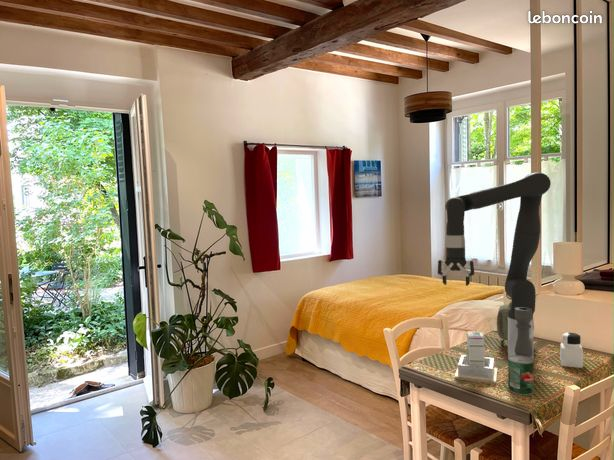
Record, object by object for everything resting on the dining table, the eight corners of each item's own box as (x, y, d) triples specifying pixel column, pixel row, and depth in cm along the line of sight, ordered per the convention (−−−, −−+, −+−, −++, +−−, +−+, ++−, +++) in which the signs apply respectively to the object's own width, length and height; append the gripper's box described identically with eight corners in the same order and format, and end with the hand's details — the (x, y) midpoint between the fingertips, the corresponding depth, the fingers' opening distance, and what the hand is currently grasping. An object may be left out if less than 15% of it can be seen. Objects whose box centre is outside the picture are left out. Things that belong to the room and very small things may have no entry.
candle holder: (532, 380, 165) (531, 311, 163) (513, 377, 168) (512, 309, 166) (534, 374, 170) (533, 307, 168) (515, 371, 173) (515, 306, 172)
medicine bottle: (581, 362, 181) (581, 332, 180) (583, 368, 174) (583, 337, 174) (560, 360, 184) (560, 330, 183) (561, 366, 177) (561, 335, 177)
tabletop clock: (533, 346, 202) (533, 289, 200) (533, 352, 194) (533, 293, 192) (497, 342, 208) (497, 288, 207) (496, 348, 200) (496, 291, 199)
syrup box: (485, 375, 169) (484, 336, 168) (468, 374, 170) (467, 335, 169) (483, 369, 174) (482, 331, 173) (466, 368, 176) (466, 331, 175)
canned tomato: (509, 384, 162) (509, 353, 161) (534, 388, 158) (534, 356, 157) (506, 392, 155) (506, 360, 155) (532, 397, 151) (532, 364, 151)
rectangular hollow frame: (497, 370, 175) (497, 357, 175) (495, 384, 163) (495, 370, 162) (459, 365, 181) (458, 353, 181) (454, 378, 169) (454, 365, 168)
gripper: (474, 245, 190) (475, 284, 191) (439, 245, 196) (439, 282, 197) (473, 247, 183) (473, 287, 184) (436, 246, 189) (436, 286, 190)
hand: (456, 285), depth 190 cm, fingers open, 8 cm apart
